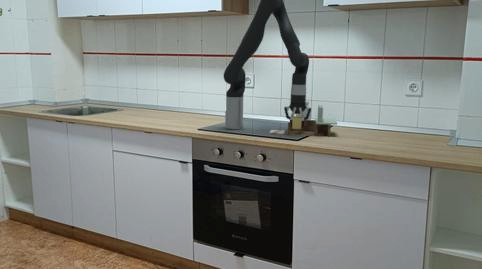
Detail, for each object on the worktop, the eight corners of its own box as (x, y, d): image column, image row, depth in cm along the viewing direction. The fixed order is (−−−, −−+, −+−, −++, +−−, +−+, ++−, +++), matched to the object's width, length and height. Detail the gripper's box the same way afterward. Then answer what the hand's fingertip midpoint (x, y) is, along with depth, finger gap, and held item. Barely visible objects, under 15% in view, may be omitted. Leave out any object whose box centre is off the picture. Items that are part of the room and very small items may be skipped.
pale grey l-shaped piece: (316, 124, 219) (316, 108, 218) (315, 120, 232) (316, 104, 230) (337, 124, 218) (337, 108, 216) (335, 120, 230) (336, 105, 229)
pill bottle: (299, 127, 252) (300, 100, 250) (312, 128, 248) (313, 101, 246) (293, 129, 246) (294, 101, 243) (307, 130, 242) (308, 102, 239)
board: (268, 136, 223) (268, 122, 222) (270, 131, 236) (270, 118, 235) (330, 138, 219) (330, 124, 218) (328, 134, 232) (329, 120, 231)
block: (292, 128, 225) (292, 117, 224) (292, 127, 230) (292, 116, 229) (301, 129, 225) (301, 118, 224) (301, 127, 229) (301, 116, 228)
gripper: (283, 93, 221) (282, 128, 225) (313, 94, 219) (311, 129, 223) (284, 92, 229) (282, 125, 232) (312, 93, 227) (310, 126, 230)
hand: (296, 127), depth 227 cm, fingers closed on block, 4 cm apart
